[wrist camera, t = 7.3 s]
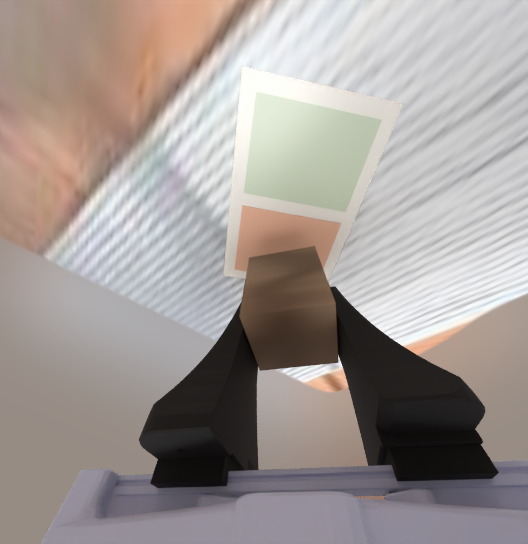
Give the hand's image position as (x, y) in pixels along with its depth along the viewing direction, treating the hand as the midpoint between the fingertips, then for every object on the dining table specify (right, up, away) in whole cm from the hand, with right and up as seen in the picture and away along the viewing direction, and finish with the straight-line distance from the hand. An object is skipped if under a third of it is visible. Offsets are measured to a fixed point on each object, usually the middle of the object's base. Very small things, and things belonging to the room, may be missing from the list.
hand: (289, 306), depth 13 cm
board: (+1, +7, +5) cm, 9 cm away
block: (0, +2, +2) cm, 2 cm away
